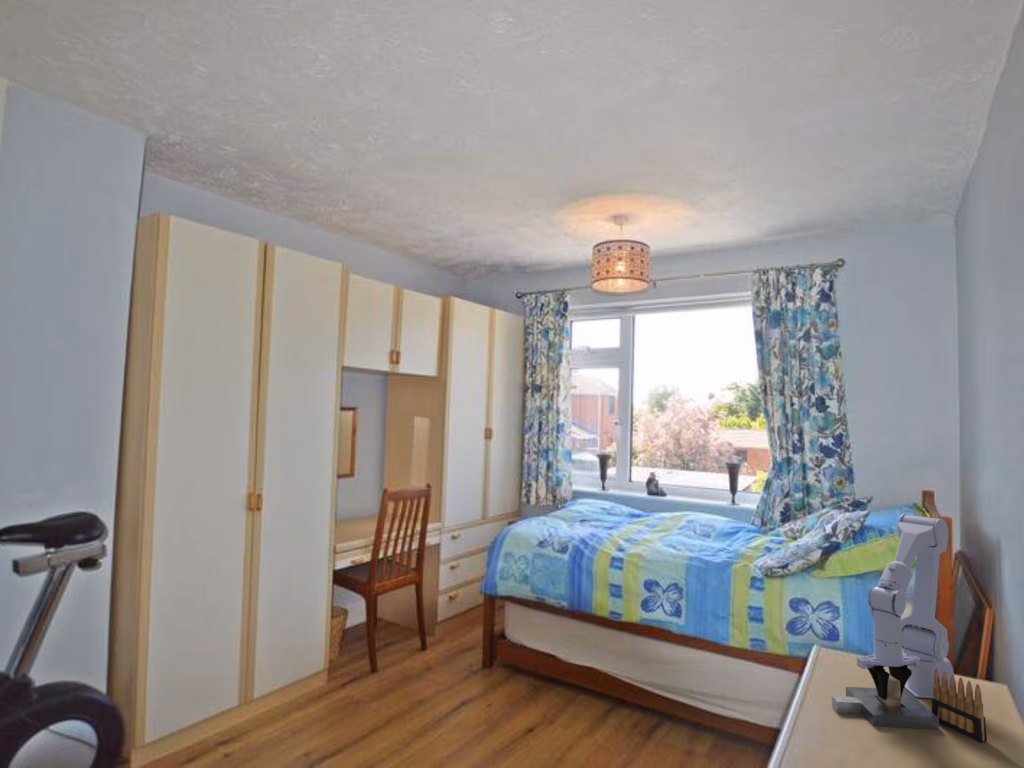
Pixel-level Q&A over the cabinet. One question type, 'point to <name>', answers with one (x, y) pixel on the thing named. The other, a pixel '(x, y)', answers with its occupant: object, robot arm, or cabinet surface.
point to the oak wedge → (892, 693)
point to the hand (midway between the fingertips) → (889, 697)
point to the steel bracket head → (885, 709)
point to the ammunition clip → (959, 707)
